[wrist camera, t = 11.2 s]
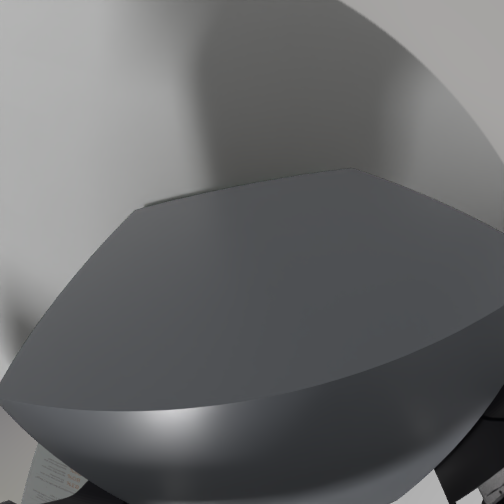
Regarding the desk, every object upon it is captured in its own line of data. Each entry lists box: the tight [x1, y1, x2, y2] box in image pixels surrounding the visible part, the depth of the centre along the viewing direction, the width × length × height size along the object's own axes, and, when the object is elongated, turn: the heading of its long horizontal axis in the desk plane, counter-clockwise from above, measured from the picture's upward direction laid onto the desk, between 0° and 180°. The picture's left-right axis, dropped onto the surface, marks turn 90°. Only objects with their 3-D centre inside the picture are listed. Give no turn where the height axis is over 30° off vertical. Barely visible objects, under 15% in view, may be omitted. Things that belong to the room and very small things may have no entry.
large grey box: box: [0, 168, 504, 504], centre depth 8 cm, size 8×12×8 cm, turn 10°
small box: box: [21, 443, 88, 504], centre depth 16 cm, size 8×6×13 cm
